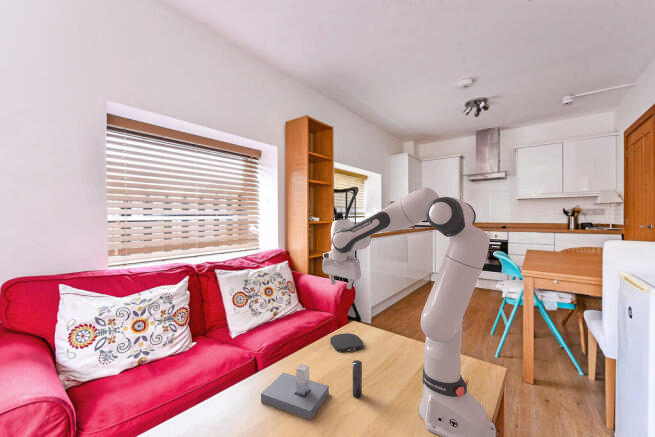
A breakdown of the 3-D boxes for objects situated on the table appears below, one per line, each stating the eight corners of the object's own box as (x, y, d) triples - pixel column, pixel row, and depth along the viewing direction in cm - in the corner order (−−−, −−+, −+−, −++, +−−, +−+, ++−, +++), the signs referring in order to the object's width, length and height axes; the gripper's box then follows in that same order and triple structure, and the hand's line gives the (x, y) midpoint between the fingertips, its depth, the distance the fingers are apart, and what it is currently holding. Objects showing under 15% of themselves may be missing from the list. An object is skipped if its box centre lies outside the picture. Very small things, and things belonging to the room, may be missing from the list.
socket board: (328, 393, 101) (328, 385, 101) (310, 420, 89) (310, 410, 89) (283, 379, 110) (283, 372, 110) (260, 401, 97) (260, 393, 97)
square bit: (309, 398, 99) (309, 365, 98) (304, 404, 96) (304, 370, 95) (301, 396, 100) (301, 363, 100) (296, 401, 97) (296, 368, 97)
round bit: (363, 394, 101) (363, 362, 100) (357, 399, 98) (357, 366, 98) (356, 390, 103) (356, 359, 103) (350, 394, 101) (350, 362, 100)
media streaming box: (353, 336, 148) (353, 331, 148) (365, 349, 134) (365, 343, 134) (328, 340, 144) (328, 335, 143) (337, 354, 130) (337, 348, 130)
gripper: (364, 257, 116) (363, 289, 117) (329, 252, 131) (329, 281, 131) (354, 259, 112) (354, 292, 112) (320, 253, 126) (320, 283, 127)
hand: (340, 286), depth 122 cm, fingers open, 8 cm apart
